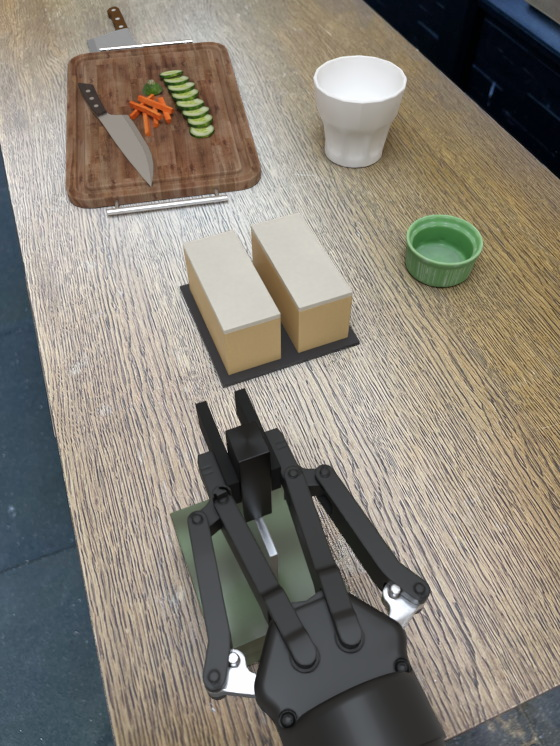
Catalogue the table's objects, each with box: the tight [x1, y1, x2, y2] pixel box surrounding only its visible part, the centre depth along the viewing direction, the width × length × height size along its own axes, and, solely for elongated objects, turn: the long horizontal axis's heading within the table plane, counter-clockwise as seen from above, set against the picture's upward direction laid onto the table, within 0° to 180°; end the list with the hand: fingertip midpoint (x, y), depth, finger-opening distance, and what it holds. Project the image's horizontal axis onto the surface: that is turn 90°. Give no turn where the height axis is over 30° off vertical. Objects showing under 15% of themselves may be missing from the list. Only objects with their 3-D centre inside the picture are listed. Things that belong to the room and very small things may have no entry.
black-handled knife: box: [224, 421, 279, 583], centre depth 45 cm, size 8×2×17 cm, turn 22°
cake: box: [179, 211, 361, 389], centre depth 72 cm, size 16×16×8 cm
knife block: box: [169, 485, 350, 667], centre depth 53 cm, size 12×11×6 cm
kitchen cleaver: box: [86, 5, 138, 53], centre depth 116 cm, size 24×1×10 cm
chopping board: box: [64, 38, 262, 216], centre depth 99 cm, size 45×27×3 cm, turn 11°
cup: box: [312, 54, 408, 169], centre depth 90 cm, size 12×12×11 cm
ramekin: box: [404, 214, 484, 288], centre depth 78 cm, size 9×9×4 cm
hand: (221, 407), depth 44 cm, fingers closed on black-handled knife, 2 cm apart
